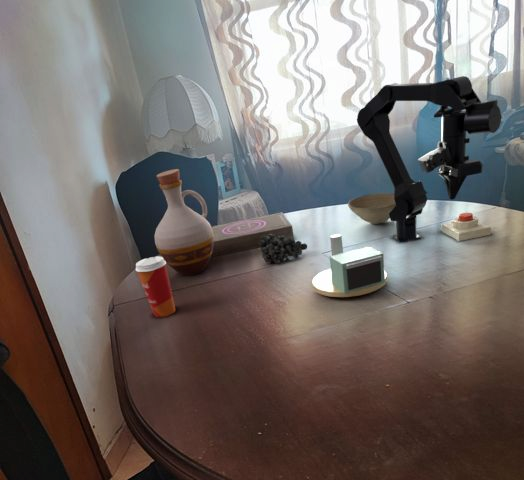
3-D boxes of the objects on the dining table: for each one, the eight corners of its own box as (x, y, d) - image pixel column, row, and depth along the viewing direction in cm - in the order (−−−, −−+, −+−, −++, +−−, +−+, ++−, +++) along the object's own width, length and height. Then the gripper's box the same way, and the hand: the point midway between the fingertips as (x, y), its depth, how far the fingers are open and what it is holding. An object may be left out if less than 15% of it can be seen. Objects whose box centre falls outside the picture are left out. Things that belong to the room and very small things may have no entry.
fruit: (303, 223, 138) (254, 232, 137) (310, 238, 133) (259, 247, 132) (304, 247, 145) (257, 256, 144) (311, 262, 139) (262, 272, 138)
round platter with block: (327, 304, 104) (323, 261, 99) (303, 279, 120) (298, 241, 115) (402, 285, 106) (401, 242, 101) (368, 263, 122) (366, 225, 117)
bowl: (411, 225, 149) (410, 199, 145) (354, 234, 151) (352, 209, 147) (397, 212, 165) (396, 189, 161) (345, 220, 167) (343, 198, 163)
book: (284, 225, 176) (282, 212, 174) (294, 240, 156) (292, 225, 154) (205, 241, 175) (202, 228, 173) (205, 258, 156) (202, 243, 153)
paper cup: (152, 309, 123) (136, 259, 116) (180, 303, 123) (166, 253, 116) (148, 321, 116) (131, 269, 109) (178, 315, 116) (163, 262, 109)
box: (441, 231, 138) (441, 218, 136) (470, 225, 138) (471, 212, 136) (458, 241, 128) (459, 226, 127) (490, 234, 129) (491, 220, 127)
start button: (456, 220, 133) (456, 214, 132) (468, 218, 133) (468, 212, 132) (462, 223, 130) (462, 217, 129) (474, 220, 130) (475, 214, 129)
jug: (201, 256, 158) (179, 164, 144) (235, 262, 146) (215, 162, 132) (154, 277, 147) (125, 179, 133) (186, 285, 135) (158, 178, 121)
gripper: (407, 139, 123) (408, 198, 130) (438, 144, 107) (437, 212, 114) (448, 131, 123) (447, 191, 131) (485, 135, 107) (481, 203, 114)
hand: (452, 199), depth 122 cm, fingers closed
